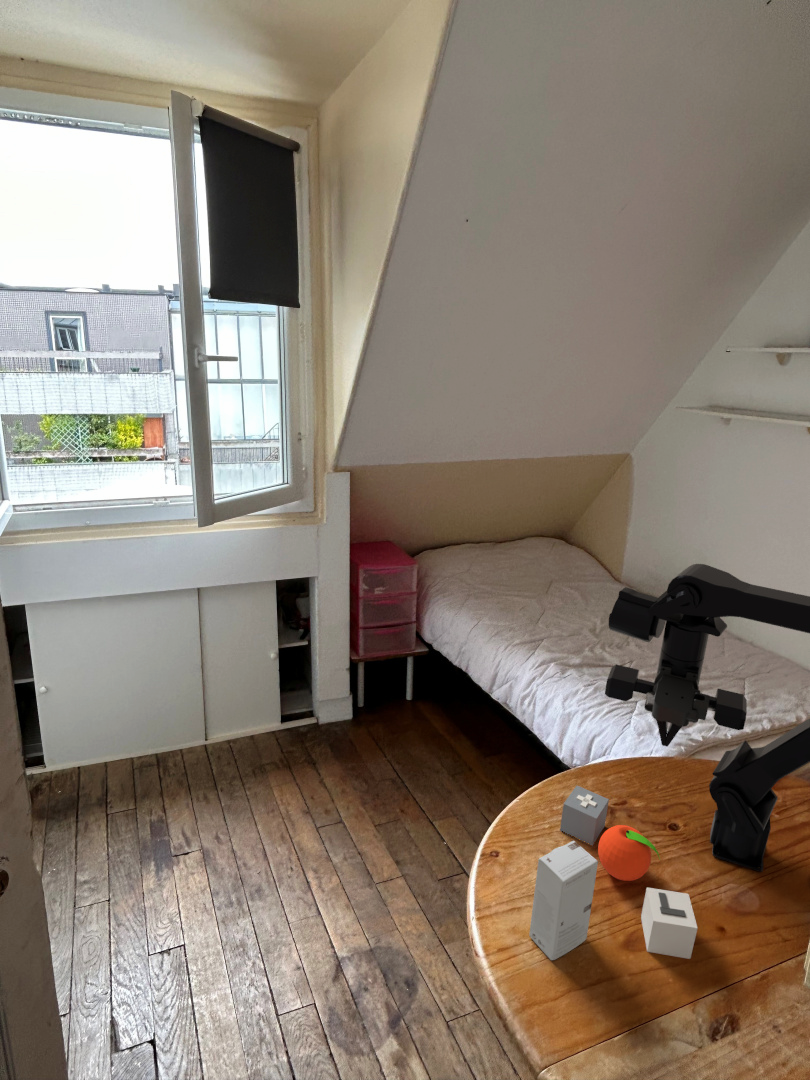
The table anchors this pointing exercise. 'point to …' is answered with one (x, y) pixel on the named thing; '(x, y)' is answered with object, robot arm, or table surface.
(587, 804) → the slate block
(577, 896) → the skincare box
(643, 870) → the clementine
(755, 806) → the robot arm
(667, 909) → the pale grey block
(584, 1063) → the table surface
